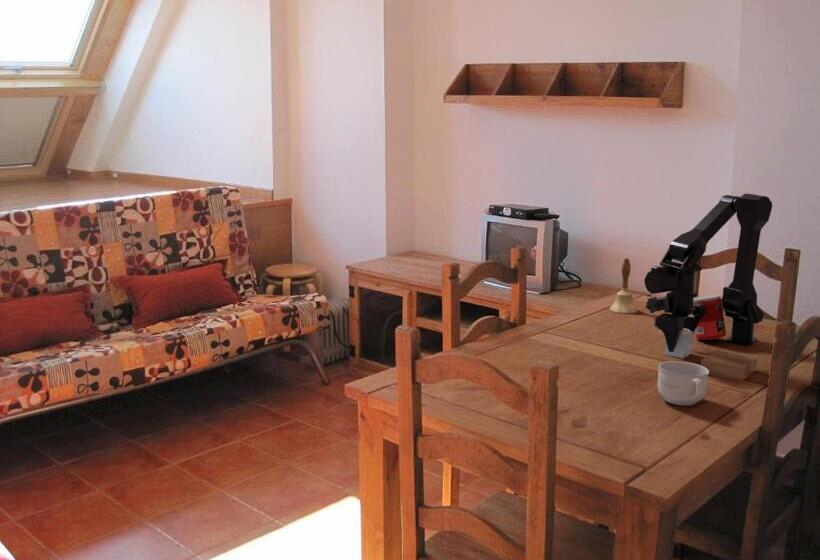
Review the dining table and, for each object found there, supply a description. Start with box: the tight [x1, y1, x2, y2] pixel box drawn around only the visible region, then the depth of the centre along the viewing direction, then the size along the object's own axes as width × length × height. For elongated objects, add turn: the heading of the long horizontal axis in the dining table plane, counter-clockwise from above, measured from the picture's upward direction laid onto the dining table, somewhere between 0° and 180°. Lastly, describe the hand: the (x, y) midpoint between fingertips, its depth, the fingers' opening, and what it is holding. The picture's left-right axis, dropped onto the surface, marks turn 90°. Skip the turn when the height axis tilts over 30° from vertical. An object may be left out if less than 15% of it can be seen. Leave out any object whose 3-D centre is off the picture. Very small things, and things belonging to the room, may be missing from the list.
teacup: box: [656, 360, 710, 406], centre depth 200 cm, size 14×11×8 cm
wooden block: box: [700, 349, 758, 382], centre depth 221 cm, size 10×10×4 cm
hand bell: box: [609, 258, 639, 315], centre depth 273 cm, size 8×8×16 cm
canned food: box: [693, 294, 727, 341], centre depth 244 cm, size 8×8×11 cm
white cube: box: [664, 328, 693, 359], centre depth 233 cm, size 5×5×7 cm
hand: (678, 347), depth 234 cm, fingers open, 9 cm apart
